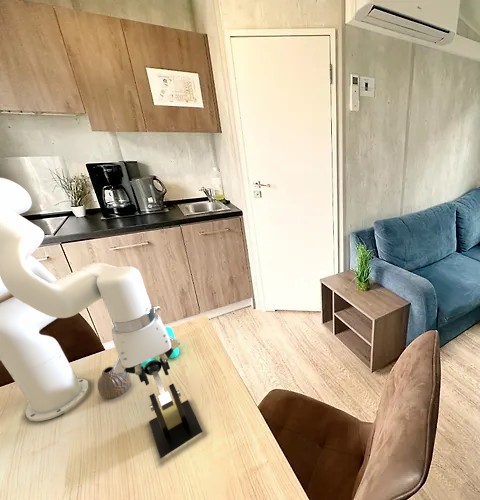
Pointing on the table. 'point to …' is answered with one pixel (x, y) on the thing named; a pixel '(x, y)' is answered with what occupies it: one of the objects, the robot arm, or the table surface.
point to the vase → (113, 383)
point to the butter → (171, 416)
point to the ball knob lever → (159, 383)
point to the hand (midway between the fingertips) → (156, 376)
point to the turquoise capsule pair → (174, 353)
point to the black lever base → (177, 434)
